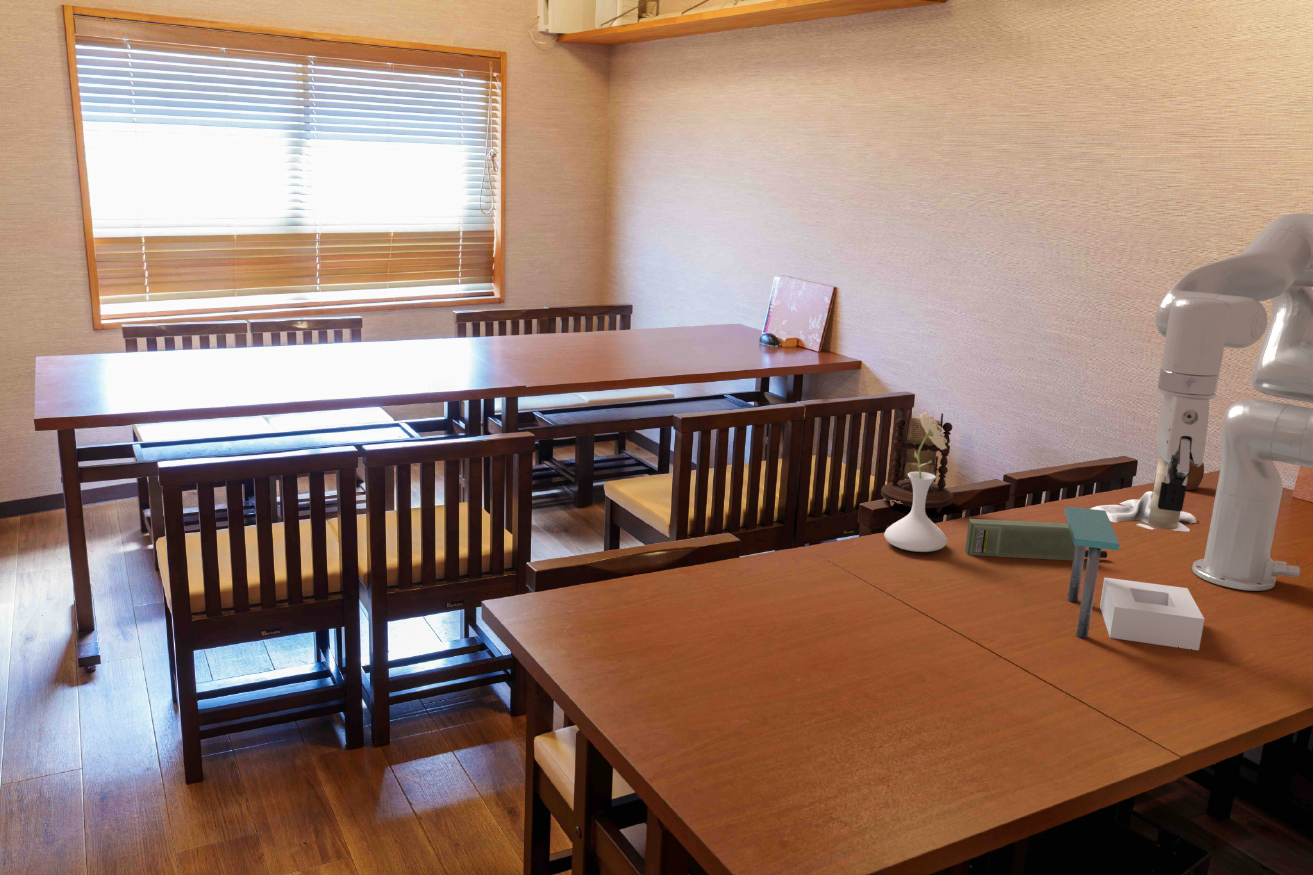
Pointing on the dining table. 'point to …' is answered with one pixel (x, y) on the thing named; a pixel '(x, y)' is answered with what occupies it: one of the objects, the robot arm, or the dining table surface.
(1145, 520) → the cloth
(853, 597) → the dining table surface
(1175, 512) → the peg
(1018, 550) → the handheld radio
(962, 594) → the dining table surface
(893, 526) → the flower in vase
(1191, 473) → the wooden figurine
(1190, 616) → the socket block
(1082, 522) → the small teal stool
